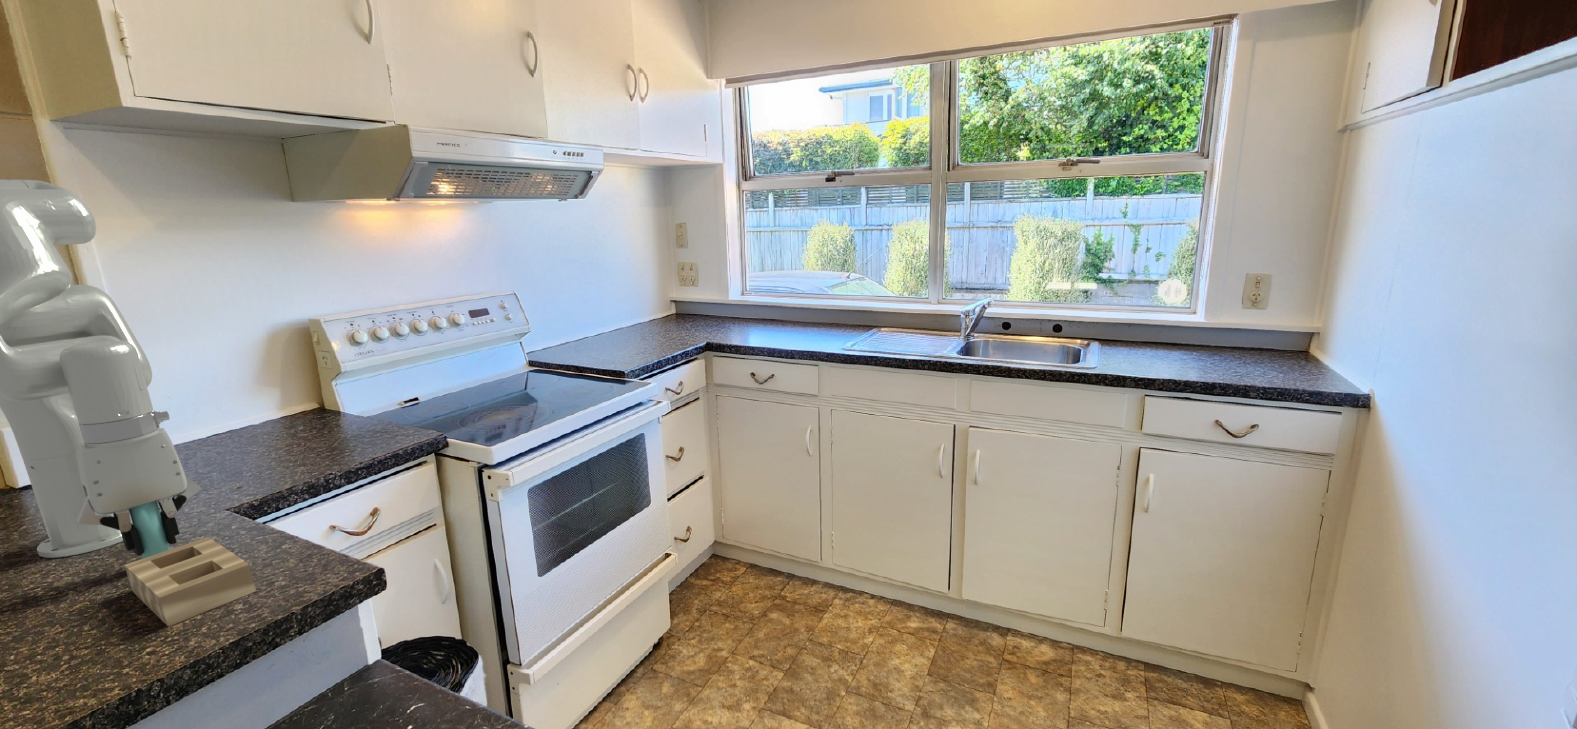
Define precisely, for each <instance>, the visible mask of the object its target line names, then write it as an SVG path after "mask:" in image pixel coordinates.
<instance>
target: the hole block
mask: <svg viewBox="0 0 1577 729" xmlns="http://www.w3.org/2000/svg"><path fill="white" fill-rule="evenodd" d="M123 565H124V569H125V573H126V575H127V578H128V581H129V582H128V583H129V584H130V588H131V592H132V593H133V594H135V595H136V597H137V598H139V600H141V602H142V603H144V604H145V605H146V606H147V607H148V608H149V609H150V611H151V612H153V613H154V614H155V615H156V616H157V617H158V619H160V620H161V621H162V622H163V623H164V624H165V625H166V626H167V627H171V626H172V627H173V625H176V624H179V623H181V622H184V621H186V620H189V619H191V618H193V617H196V616H198V615H200V614H201V615H202V614H203V613H206V612H208V611H211V610H213V609H217V608H218V607H221V606H223V605H225V604H229V603H230V602H233V601H235V600H238V599H240V598H243V597H244V596H247V595H250V594H252V593H254V592H257V589H256V584H255V581H254V578H253V577H254V576H253V574H252V570H251V569H252V568H251V566H250V563H248V562H247V561H245V560H244V559H242V558H240V557H239V556H238V555H237V554H235V553H233V552H232V551H230V550H229V549H227V548H226V547H225V546H223V545H221V544H220V543H218V542H217V541H215V540H214V539H212V538H211V537H209V536H207V537H206V536H205V537H204V538H201V539H197V540H195V541H192V542H188V543H186V544H183V545H179V546H176V547H173V548H170V550H168V551H165V552H162V553H159V554H156V555H153V556H150V557H147V558H144V559H143V558H141V559H138V560H136V561H132V562H128V563H127V564H123Z"/></svg>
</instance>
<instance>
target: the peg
mask: <svg viewBox="0 0 1577 729" xmlns="http://www.w3.org/2000/svg"><path fill="white" fill-rule="evenodd" d="M129 512H130V516H131V519H132V523H133V526H134V528H136V529H137V530H138V532H139V536H140V539H141V543H142V546H143V549H144V553H143V554H142V559H144V558H147V557H150V556H153V555H156V554H159V553H162V552H165V551H168V550H170V549H171V546H170V544H169V543H168V540H167V536H166V533H165V529H164V526H163V522H162V518H161V515H160V512H161V510H160V508H159V505H158V503H157V501H155V502H152V503H148V504H145V505H141V506H138V507H134V508H131V509H129Z"/></svg>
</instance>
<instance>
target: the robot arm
mask: <svg viewBox="0 0 1577 729" xmlns="http://www.w3.org/2000/svg"><path fill="white" fill-rule="evenodd" d="M96 233H97V225H96V221H95V217H94V215H93V213H92V211H91V209H90V208H89V206H88V205H87V204H86V203H85V201H84V200H83V199H82V198H80V196H78V195H77V194H76V193H74V191H71V190H69V189H67V188H64V187H61V186H59V185H55V184H52V183H50V182H47V181H43V180H33V179H5V178H3V179H2V178H1V179H0V409H1V411H2V413H3V415H4V416H5V418H6V421H7V422H8V424H9V427H10V429H11V432H12V434H13V436H14V439H15V441H16V444H17V447H18V450H19V453H20V455H21V459H22V461H23V464H24V466H25V470H26V473H27V475H28V478H29V482H30V484H31V488H32V491H33V495H34V497H35V500H36V503H37V506H38V509H39V512H40V515H41V518H42V521H43V524H44V527H45V530H46V533H47V536H48V538H46V539H45V540H44V541H42V542H40V543H39V545H38V546H37V548H36V551H37V554H38V556H39V557H42V558H49V559H53V558H54V559H55V558H57V559H58V558H67V557H70V556H71V557H72V556H77V555H81V554H85V553H86V554H87V553H90V552H94V551H97V550H98V551H99V550H102V549H104V548H108V547H111V546H114V545H117V544H118V543H122V542H123V544H124V548H125V549H126V551H127V552H129V551H132V552H133V553H134V554H135V555H137V556H139V557H140V556H141V555H142V554H143V553H144V549H143V546H142V543H141V539H140V536H139V532H138V530H137V529H136V528H134V526H133V523H132V519H131V516H130V512H129V509H131V508H134V507H138V506H141V505H145V504H148V503H152V502H155V501H157V504H158V508H159V511H160V515H161V518H162V522H163V526H164V529H165V533H166V536H167V540H168V543H169V545H175V544H177V543H178V542H177V538H176V536H180V530H179V526H178V523H177V520H176V516H178V512H179V511H180V510H181V508H182V507H183V506H184V505H185V503H186V502H187V500H189V499H190V498H191V497H193V496H195V494H197V493H198V492H200V491H201V488H202V487H201V486H200V485H199V484H197V483H196V482H195V481H194V480H192V479H191V478H190V476H188V475H187V474H185V471H184V468H183V466H182V462H181V460H180V458H179V455H178V452H177V450H176V448H175V446H174V443H173V442H172V439H171V437H170V436H169V434H168V433H167V431H166V430H165V429H164V428H163V427H160V425H161V423H163V422H165V421H170V415H169V412H168V411H167V410H165V411H156V410H155V409H154V407H153V404H152V400H151V396H150V393H149V389H148V387H149V386H150V384H151V383H152V379H153V370H152V367H151V365H150V361H149V359H148V357H147V355H146V353H145V352H144V350H143V348H142V346H141V344H140V343H139V340H137V338H136V336H135V335H134V333H133V331H132V329H131V328H130V326H129V324H128V322H127V320H126V319H125V318H124V316H123V314H122V312H121V311H120V309H119V307H118V306H117V305H116V303H115V301H114V300H113V298H112V297H111V296H110V295H109V294H108V293H107V292H105V291H104V290H102V289H100V288H98V287H96V286H94V285H88V284H72V283H73V274H72V272H71V270H70V269H69V267H68V265H67V264H66V262H65V261H64V259H63V258H62V256H61V254H60V253H59V251H58V250H57V247H56V246H66V245H67V246H68V245H81V244H83V245H84V244H87V243H89V242H91V241H92V240H93V239H94V238H95V235H96Z"/></svg>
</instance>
